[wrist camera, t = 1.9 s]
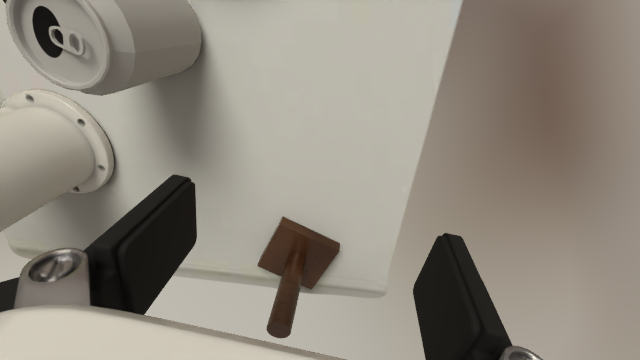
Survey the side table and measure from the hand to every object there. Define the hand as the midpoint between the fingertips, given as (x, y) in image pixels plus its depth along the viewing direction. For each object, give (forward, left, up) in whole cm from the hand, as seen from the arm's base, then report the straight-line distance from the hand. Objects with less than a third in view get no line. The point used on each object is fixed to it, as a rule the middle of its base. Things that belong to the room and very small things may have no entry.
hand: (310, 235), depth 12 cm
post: (+5, -20, -21) cm, 29 cm away
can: (-17, -2, -21) cm, 27 cm away
